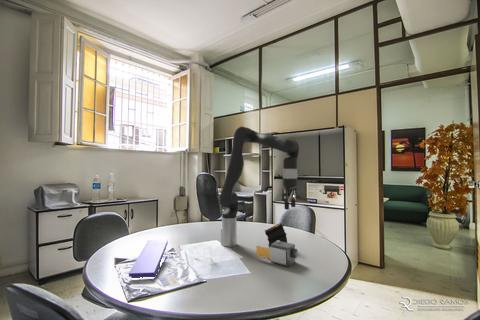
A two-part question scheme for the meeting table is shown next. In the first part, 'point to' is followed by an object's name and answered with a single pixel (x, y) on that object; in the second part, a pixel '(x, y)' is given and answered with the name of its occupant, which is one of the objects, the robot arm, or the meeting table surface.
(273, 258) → the orange and gray panel
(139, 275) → the purple slab
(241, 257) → the meeting table surface
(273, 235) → the black ribbed block
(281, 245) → the grey box with knob
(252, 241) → the meeting table surface
